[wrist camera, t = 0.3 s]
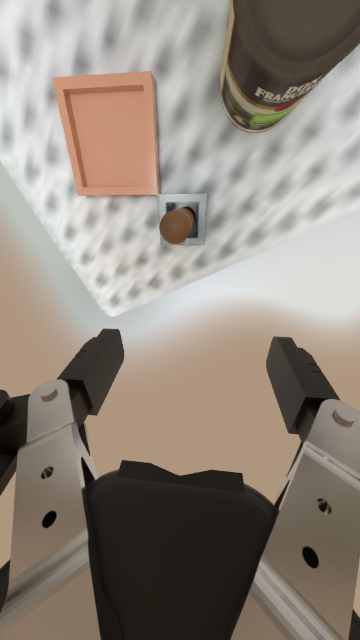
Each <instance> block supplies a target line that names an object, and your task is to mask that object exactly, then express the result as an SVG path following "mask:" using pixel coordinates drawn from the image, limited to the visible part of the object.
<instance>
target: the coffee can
mask: <svg viewBox="0 0 360 640" xmlns="http://www.w3.org/2000/svg"><path fill="white" fill-rule="evenodd" d="M359 44H360V0H231V2H230V8H229V17H228V25H227V32H226V39H225V47H224V54H223V61H222V65H221V71H220V96H221V100H222V104H223V107H224V110H225V112H226V114H227V116H228V117H229V119H230V120H231V122H232V123H233V124H234V125H235V126H237V127H238V128H240V129H242V130H244V131H247V132H252V133H255V132H263V131H266V130H269V129H271V128H273V127H275V126H276V125H277V124H279V123H280V122H281V121H282V120H284V119H285V118H286V117H287V116H288V114H289V113H290V112H291V111H292V110H293V108H294V107H295V106H296V105H297V104H298V103H299V102H300V101H301V100H302V99H303V98H304V97H305V96H306V95H307V94H308V93H309V92H310V91H311V90H312V89H313V88H314V87H315V86H316V85H317V84H318V83H319V82H320V81H321V80H322V79H323V78H324V77H325V76H326V75H327V74H328V73H329V72H330V71H331V70H332V69H333V68H334V67H335V66H336V65H337V64H338V63H339V62H341V61H342V60H343V59H344V58H345V57H346V56H348V55H349V54H350V53H351V52H352V51H353V50H354V49H355V48H356V47H357V46H358V45H359Z"/></svg>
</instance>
